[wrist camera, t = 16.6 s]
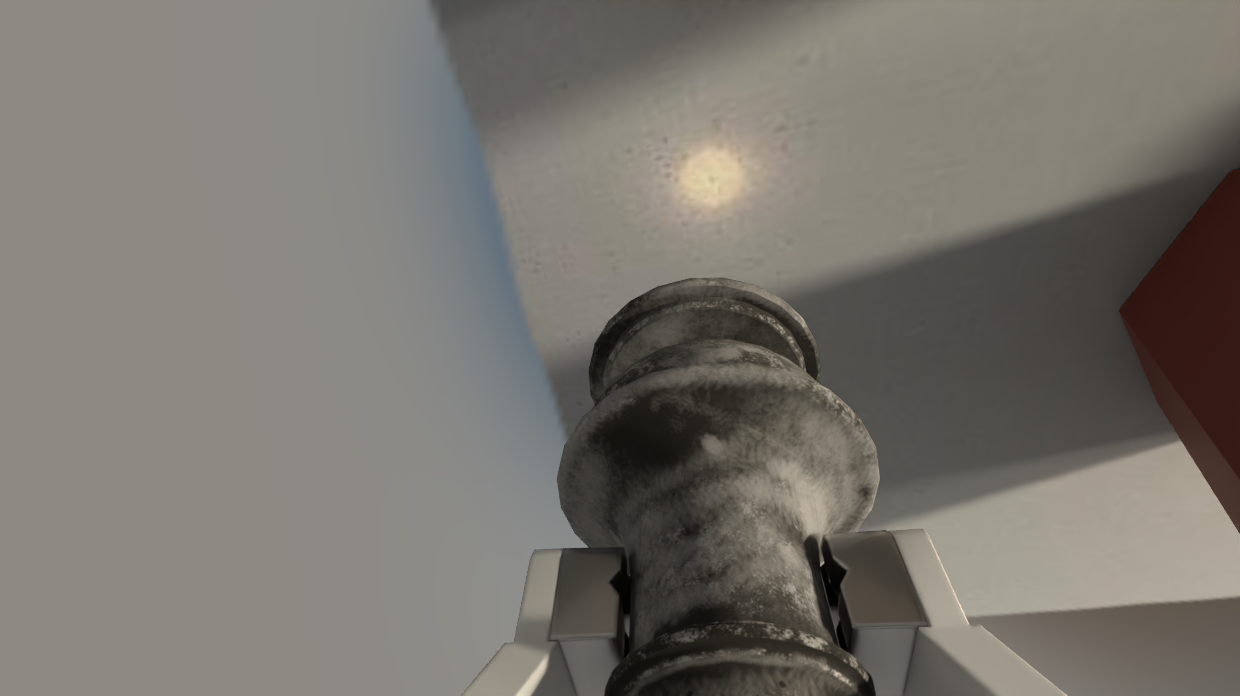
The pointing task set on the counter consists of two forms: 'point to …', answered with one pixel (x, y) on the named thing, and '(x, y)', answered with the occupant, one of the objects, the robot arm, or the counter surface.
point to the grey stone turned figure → (719, 492)
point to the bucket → (1198, 339)
